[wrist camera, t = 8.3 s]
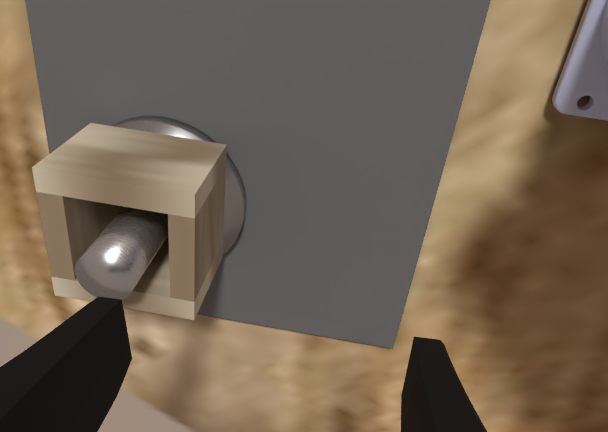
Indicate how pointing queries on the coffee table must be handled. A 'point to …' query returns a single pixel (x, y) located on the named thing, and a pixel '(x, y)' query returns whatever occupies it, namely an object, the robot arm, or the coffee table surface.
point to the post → (149, 225)
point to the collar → (140, 195)
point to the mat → (285, 132)
